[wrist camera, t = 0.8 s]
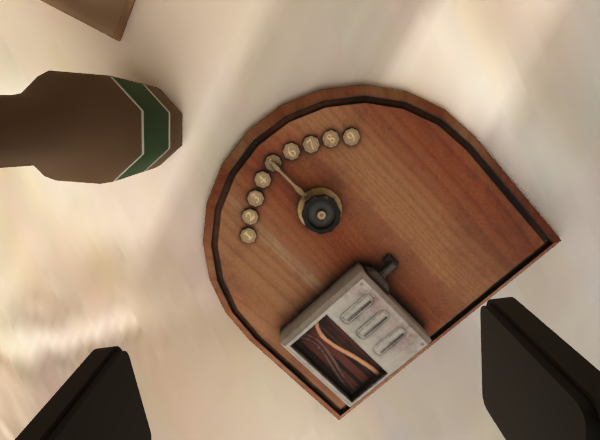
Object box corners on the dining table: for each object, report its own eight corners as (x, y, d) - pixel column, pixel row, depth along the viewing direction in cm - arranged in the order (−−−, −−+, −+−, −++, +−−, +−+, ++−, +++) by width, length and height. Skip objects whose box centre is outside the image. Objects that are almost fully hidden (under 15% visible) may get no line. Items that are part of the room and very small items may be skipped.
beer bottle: (168, 72, 37) (-45, -11, 14) (199, 153, 39) (56, 199, 16) (92, 99, 38) (-240, 62, 14) (125, 177, 39) (-120, 258, 16)
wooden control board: (343, 447, 42) (122, 254, 36) (337, 413, 47) (143, 237, 41) (589, 252, 37) (377, -6, 32) (554, 237, 42) (366, 12, 37)
